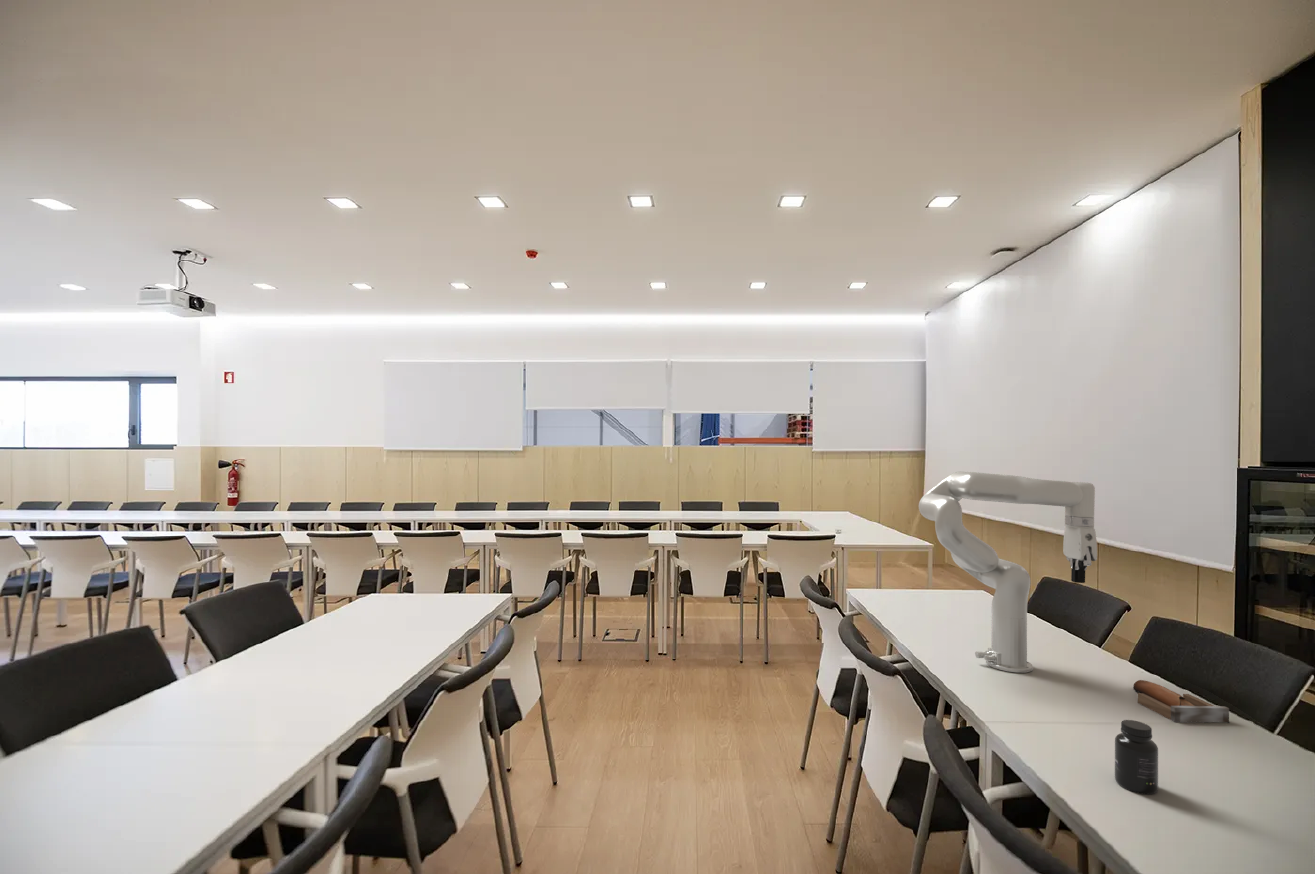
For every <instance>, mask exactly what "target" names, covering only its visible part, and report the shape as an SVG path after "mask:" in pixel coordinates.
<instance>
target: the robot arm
mask: <svg viewBox="0 0 1315 874" xmlns="http://www.w3.org/2000/svg"><path fill="white" fill-rule="evenodd" d="M1095 489H1096V487H1095V485H1094V484H1093V483H1091V482H1083V481H1080V482H1079V481H1065V480H1064V481H1063V480H1050V479H1039V478H1031V477H1025V476H1021V475H1010V474H998V473H986V472H974V471H956V472H953V473H952V474H950V475H947V477H945V478H944V479H943V480H941V481H940V482H939V483H938V484H936V485H935V486H934V487H933V488H931V489H929V491H927V492H925V494H924V495H922V497H921V498H920V500H919V502H918V510H919V513H920V514H921V516H922V517H923V518H925V519H926V520H929V521H933V522H934V527H935V528H934V529H935V534H936V537H937V540H938V541H939V543H940V545H941V546H942V547H943V548H945V549H946V550H947V551H948V552H950V555H951V559H952V561H953V562H954V563H955V565H957V566H958V567H959V568H960V569H962V570H963V571H964V572H966V573H968V574H969V575H970V576H972V577H973V578H974V579H976V580H977V581H979V582H980V583H982V584H984V585H985V586H987V587H990V588H992V589H994V591H995V592H994V594H993V597H992V601H991V606H990V607H991V644H990V645H991V647H988V648H987V650H985V651H975V653H974V654H975V658H976V659H983V660H985V663H986V665H988V666H989V667H991V668H994V669H996V670H1000V671H1005V672H1008V673H1009V672H1010V673H1022V674H1024V673H1030V672H1032V671H1033V670H1034V665H1033V664H1032V663H1031V662H1029V661H1028V600H1029V594H1030V589H1031V584H1032V583H1031V582H1032V581H1031V577H1030V574H1029V572H1028V571H1027V569H1025V568H1024V567H1023V565H1020V564H1018V563H1016V562H1013V561H1009V560H1007V559H1006V560H1005V559H1002V558H999V555H998V553H997V551H996V550H995V549H994V548H993V546H991V545H989V544H988V543H986V542H985V541H983V540H982V539H980V538H979V536H978V537H977V536H976V535H975V534H974V533H972V531H969V529H968V528H966V527H965V525H964V523H963V508H962V505H961V503H960V501H961V500H962V499H964V500H965V499H966V500H971V501H983V502H995V503H996V502H998V503H1005V504H1007V503H1008V504H1018V505H1040V506H1041V505H1043V506H1050V507H1051V506H1052V507H1064V533H1063V542H1062V543H1063V544H1062V550H1063V553H1062V554H1063V555H1064V556H1065V559H1066V560H1067V561H1068V562H1069V566H1070V568H1071V570H1070V571H1071V573H1070V574H1071V575H1070V577H1071V579H1070V581H1071V582H1072V583H1076V584H1078V583H1079V584H1085V583H1086V570H1087V569H1088V567H1089V566H1092V562H1096V561H1097V560H1098V541H1097V534H1096V529H1095V501H1096V500H1095V497H1096V493H1095V492H1096V490H1095Z"/></svg>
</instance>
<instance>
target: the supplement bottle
mask: <svg viewBox="0 0 1315 874" xmlns="http://www.w3.org/2000/svg"><path fill="white" fill-rule="evenodd" d="M1152 730H1153V729H1152V727H1151V726H1150V725H1148V724H1147V723H1144V722H1142V721H1137V720H1133V719H1123V720H1121V722H1120V732H1121V733H1119V734H1116V736H1115V738H1114V780H1115V782H1116V783H1117V785H1119V786H1120V787H1121V788H1124V789H1126V790H1127V791H1130V792H1133V793H1136V794H1141V795H1155V794H1156V793H1157V792H1158V791H1159V747H1158V745H1157V744H1156V743H1155V741H1153V740H1152V739H1153V733H1152V732H1153V731H1152Z"/></svg>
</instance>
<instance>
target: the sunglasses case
mask: <svg viewBox="0 0 1315 874" xmlns="http://www.w3.org/2000/svg"><path fill="white" fill-rule="evenodd" d="M1132 688H1133V690H1134V692H1137V693H1143V694H1145V695H1147V696H1149V697H1152V698H1154V699H1156V700H1158V701H1160V702H1162V703H1164V704H1166V705H1168V706H1170V707H1171V706H1194V705H1193V704H1191V703H1189V702H1188V701H1186V700H1185V698H1184V697H1183V695H1181V694H1179V693H1177V692H1175V691H1173V690H1171V689H1169V688H1166V687H1164V686H1162V685H1160V684H1158V683H1155V682H1151V681H1148V680H1145V679H1144V680H1142V679H1139V680H1136V681H1135V682H1134V684H1133V687H1132Z"/></svg>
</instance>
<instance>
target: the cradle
mask: <svg viewBox="0 0 1315 874" xmlns="http://www.w3.org/2000/svg"><path fill="white" fill-rule="evenodd" d="M1182 697H1184V698H1185V700H1186V701H1188V702H1189V703H1191V704H1193V705H1194V706H1171V707H1170V706H1168V705H1166V704H1164V703H1162V702H1160V701H1158V700H1156V699H1154V698H1152V697H1149V696H1147V695H1145V694H1143V693H1139V692H1137V703H1138V704H1139V705H1141V706H1143V707H1145V708H1147V709H1149V710H1151V711H1152V712H1154V713H1156V714H1159V715H1160V716H1162V717H1164V718H1166V719H1168V720H1170V721H1172V722H1174V723H1204V722H1229V723H1230V708H1229V707H1227V706H1223V705H1218V706H1217V705H1215V704H1212V703H1209V702H1207V701H1205V700H1202V699H1201V698H1199V697H1196V696H1194V695H1192V694H1189V693H1182Z"/></svg>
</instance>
